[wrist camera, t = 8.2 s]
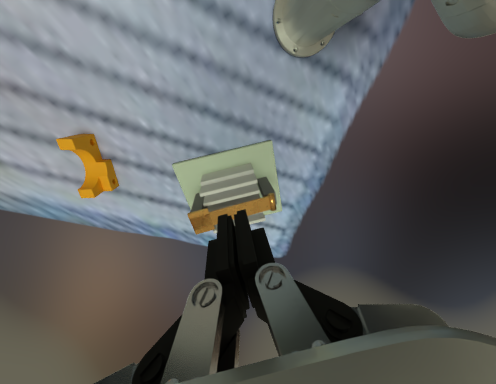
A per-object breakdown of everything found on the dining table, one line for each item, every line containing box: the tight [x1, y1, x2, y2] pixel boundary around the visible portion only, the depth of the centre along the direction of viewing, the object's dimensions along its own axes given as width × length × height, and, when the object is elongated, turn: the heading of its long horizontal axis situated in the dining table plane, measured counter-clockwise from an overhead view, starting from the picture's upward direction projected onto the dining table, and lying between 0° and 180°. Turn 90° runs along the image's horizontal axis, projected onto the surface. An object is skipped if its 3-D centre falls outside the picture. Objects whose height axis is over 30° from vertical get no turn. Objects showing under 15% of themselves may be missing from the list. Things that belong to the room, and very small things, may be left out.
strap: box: [188, 193, 277, 234], centre depth 37 cm, size 18×5×1 cm, turn 102°
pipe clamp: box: [56, 134, 119, 198], centre depth 39 cm, size 12×4×6 cm, turn 179°
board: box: [172, 140, 282, 233], centre depth 43 cm, size 24×20×10 cm
